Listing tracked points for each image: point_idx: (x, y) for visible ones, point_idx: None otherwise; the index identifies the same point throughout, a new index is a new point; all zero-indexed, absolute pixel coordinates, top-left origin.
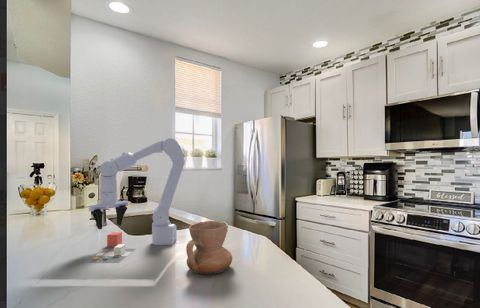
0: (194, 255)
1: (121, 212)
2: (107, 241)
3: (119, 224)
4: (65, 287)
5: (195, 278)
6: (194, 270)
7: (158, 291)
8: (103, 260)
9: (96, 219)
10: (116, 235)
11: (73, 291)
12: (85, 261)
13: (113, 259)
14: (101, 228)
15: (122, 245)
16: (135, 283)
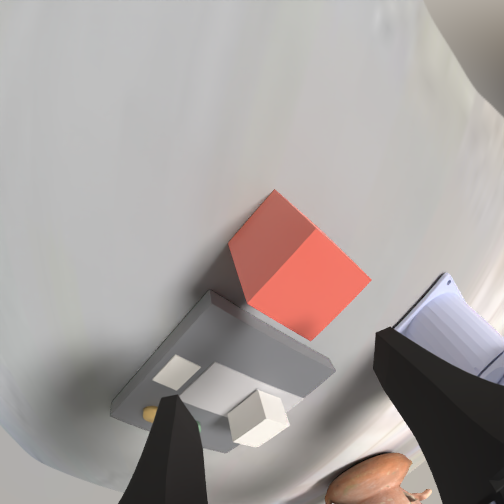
0: (345, 502)
1: (434, 479)
2: (239, 274)
3: (376, 371)
4: (98, 463)
5: (321, 485)
6: (326, 493)
7: (254, 501)
8: None
9: (148, 490)
10: (306, 337)
11: (120, 477)
12: (116, 411)
13: (216, 433)
14: (194, 431)
15: (272, 434)
16: (233, 488)
